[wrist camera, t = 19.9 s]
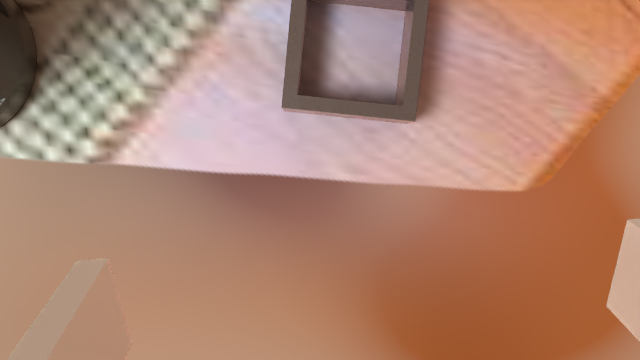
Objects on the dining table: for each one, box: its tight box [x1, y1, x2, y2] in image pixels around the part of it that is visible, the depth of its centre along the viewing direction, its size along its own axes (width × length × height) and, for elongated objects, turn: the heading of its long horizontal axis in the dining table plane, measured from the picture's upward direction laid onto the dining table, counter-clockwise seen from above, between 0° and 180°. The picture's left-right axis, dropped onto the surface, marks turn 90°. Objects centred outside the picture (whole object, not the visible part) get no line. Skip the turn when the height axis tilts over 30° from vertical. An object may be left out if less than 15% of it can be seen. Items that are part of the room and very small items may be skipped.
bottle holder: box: [282, 0, 429, 123], centre depth 42 cm, size 11×11×4 cm
